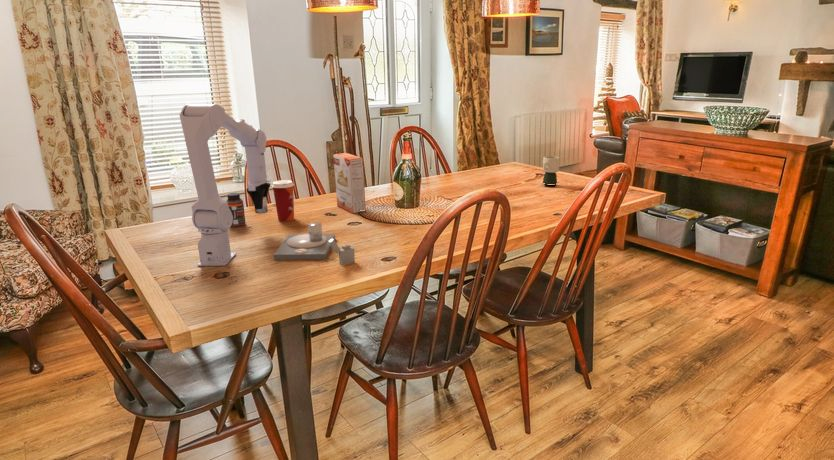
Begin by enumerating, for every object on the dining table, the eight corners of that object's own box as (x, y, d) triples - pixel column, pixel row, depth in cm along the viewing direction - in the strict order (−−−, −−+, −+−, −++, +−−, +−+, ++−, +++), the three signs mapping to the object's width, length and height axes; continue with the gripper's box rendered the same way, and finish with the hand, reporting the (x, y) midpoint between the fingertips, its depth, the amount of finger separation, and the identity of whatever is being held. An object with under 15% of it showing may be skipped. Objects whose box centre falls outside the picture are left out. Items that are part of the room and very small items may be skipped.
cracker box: (336, 206, 206) (332, 153, 199) (349, 204, 209) (346, 152, 203) (352, 214, 195) (348, 158, 188) (366, 211, 198) (363, 157, 191)
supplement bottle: (240, 227, 181) (236, 196, 177) (224, 227, 182) (220, 195, 179) (249, 222, 186) (245, 192, 183) (233, 222, 188) (229, 191, 184)
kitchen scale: (325, 259, 150) (324, 252, 150) (273, 259, 151) (273, 252, 150) (335, 239, 168) (334, 232, 167) (288, 239, 168) (288, 233, 167)
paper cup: (298, 221, 188) (295, 183, 183) (276, 223, 185) (272, 185, 181) (295, 215, 195) (291, 178, 190) (274, 217, 192) (270, 180, 188)
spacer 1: (265, 213, 171) (264, 198, 170) (253, 213, 171) (252, 199, 170) (269, 210, 175) (267, 195, 173) (257, 210, 175) (255, 196, 173)
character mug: (549, 182, 239) (551, 154, 235) (563, 185, 234) (565, 156, 230) (535, 186, 232) (537, 157, 228) (549, 189, 227) (551, 159, 223)
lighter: (352, 260, 149) (350, 234, 147) (355, 262, 148) (353, 235, 145) (329, 266, 145) (327, 239, 143) (332, 267, 144) (330, 240, 142)
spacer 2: (320, 242, 158) (319, 226, 157) (307, 241, 159) (306, 226, 157) (324, 238, 162) (322, 222, 160) (311, 237, 162) (310, 222, 161)
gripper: (262, 170, 161) (266, 212, 166) (274, 162, 175) (278, 201, 179) (239, 171, 162) (244, 213, 166) (253, 162, 175) (258, 201, 180)
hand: (260, 207), depth 173 cm, fingers closed on spacer 1, 4 cm apart
